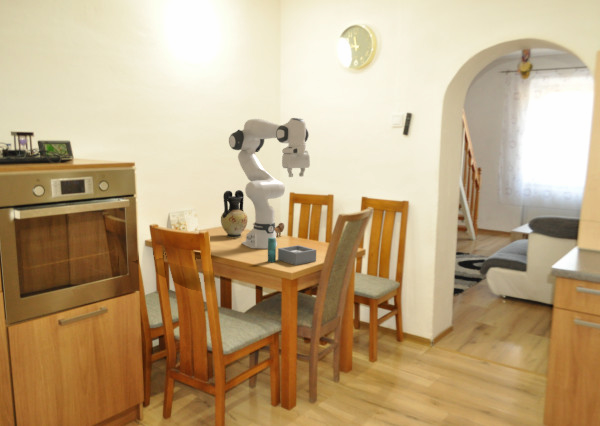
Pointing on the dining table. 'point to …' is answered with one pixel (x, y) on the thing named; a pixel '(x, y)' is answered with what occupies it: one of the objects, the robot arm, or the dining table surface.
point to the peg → (271, 249)
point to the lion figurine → (279, 229)
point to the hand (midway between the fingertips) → (296, 176)
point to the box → (297, 255)
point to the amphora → (234, 214)
